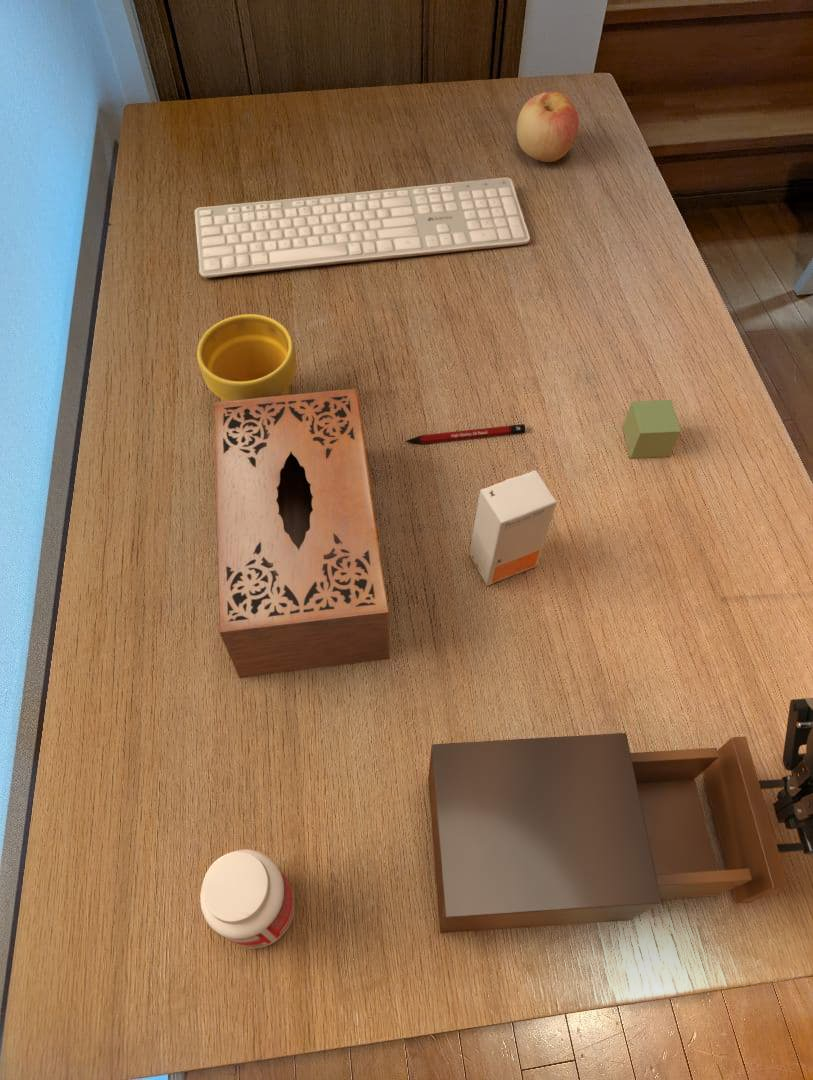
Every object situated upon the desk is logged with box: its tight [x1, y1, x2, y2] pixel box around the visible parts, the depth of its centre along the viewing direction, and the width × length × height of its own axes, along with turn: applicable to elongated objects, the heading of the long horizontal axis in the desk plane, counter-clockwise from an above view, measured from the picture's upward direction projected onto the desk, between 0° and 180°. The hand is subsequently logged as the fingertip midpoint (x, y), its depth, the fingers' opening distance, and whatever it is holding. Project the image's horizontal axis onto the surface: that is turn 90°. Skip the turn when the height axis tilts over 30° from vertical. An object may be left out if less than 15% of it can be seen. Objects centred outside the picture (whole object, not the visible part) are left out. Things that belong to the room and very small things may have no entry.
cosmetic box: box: [469, 470, 558, 587], centre depth 80 cm, size 6×4×12 cm
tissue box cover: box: [214, 387, 391, 678], centre depth 81 cm, size 26×14×10 cm, turn 8°
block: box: [621, 399, 682, 459], centre depth 91 cm, size 4×4×4 cm
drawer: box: [630, 736, 813, 905], centre depth 66 cm, size 19×11×8 cm, turn 94°
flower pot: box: [196, 313, 297, 402], centre depth 91 cm, size 10×10×10 cm
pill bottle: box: [199, 848, 296, 949], centre depth 63 cm, size 6×6×11 cm
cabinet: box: [427, 732, 662, 934], centre depth 66 cm, size 16×13×10 cm
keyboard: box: [194, 177, 531, 279], centre depth 111 cm, size 44×12×2 cm, turn 100°
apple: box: [516, 91, 580, 163], centre depth 118 cm, size 9×9×8 cm
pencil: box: [404, 423, 526, 445], centre depth 93 cm, size 1×14×1 cm, turn 98°
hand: (787, 812), depth 65 cm, fingers closed
